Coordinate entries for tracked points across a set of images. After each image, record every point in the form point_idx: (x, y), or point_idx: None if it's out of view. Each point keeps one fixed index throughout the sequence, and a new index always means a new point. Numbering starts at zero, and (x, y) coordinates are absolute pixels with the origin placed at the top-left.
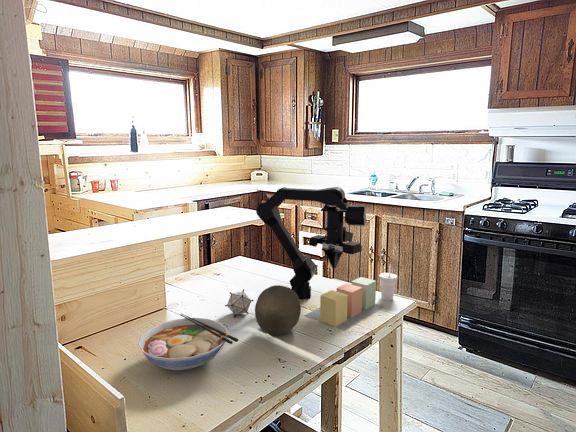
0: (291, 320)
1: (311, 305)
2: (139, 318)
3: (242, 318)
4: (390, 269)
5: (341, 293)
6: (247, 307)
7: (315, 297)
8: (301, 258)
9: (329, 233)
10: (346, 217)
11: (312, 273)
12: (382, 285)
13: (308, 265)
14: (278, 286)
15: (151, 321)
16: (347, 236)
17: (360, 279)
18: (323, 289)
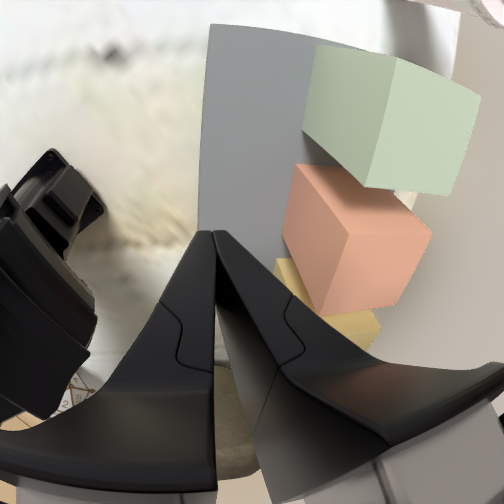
0: None
1: (131, 212)
2: (17, 415)
3: (87, 370)
4: None
5: (356, 335)
6: (77, 381)
7: (77, 131)
8: (4, 411)
9: None
10: None
11: (76, 303)
12: (450, 2)
13: (58, 374)
14: (226, 479)
15: (32, 416)
16: None
17: (409, 117)
18: (39, 22)
